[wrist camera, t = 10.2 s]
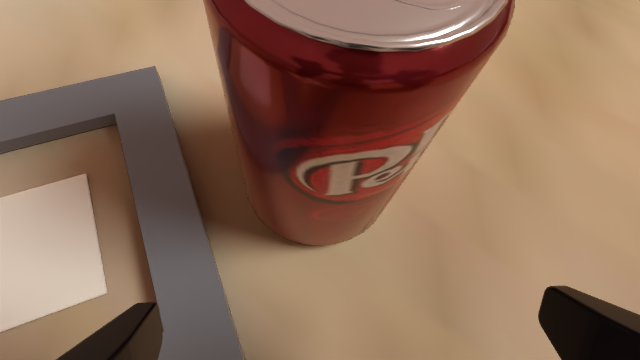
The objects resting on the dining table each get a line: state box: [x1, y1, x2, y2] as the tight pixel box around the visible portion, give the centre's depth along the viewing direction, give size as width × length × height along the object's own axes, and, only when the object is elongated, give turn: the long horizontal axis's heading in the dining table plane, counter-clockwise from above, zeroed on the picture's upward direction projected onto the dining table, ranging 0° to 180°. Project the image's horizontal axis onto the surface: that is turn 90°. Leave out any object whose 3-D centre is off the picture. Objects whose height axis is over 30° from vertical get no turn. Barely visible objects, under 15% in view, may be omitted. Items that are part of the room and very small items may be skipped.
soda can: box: [203, 0, 515, 246], centre depth 13 cm, size 7×7×12 cm
